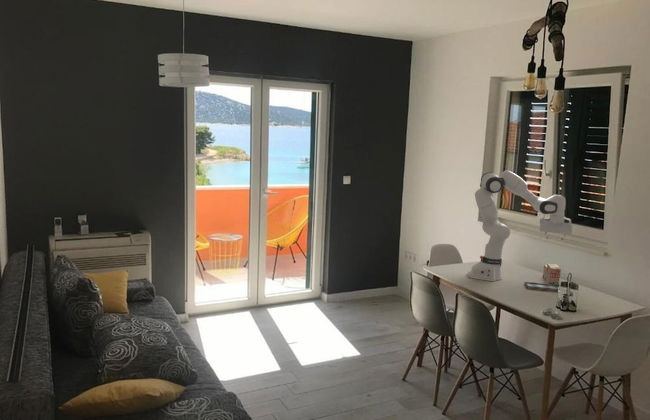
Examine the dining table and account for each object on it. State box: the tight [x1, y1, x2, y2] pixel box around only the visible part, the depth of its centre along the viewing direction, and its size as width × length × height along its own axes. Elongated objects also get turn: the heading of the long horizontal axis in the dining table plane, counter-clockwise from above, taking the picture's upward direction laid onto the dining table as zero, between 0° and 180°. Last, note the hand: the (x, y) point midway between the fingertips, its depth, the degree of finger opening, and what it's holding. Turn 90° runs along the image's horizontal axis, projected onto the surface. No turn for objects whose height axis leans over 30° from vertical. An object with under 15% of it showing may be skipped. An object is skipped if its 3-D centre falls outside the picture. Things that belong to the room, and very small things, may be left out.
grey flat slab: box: [523, 281, 560, 293], centre depth 352 cm, size 25×10×2 cm, turn 80°
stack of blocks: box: [542, 263, 562, 285], centre depth 368 cm, size 21×6×12 cm, turn 169°
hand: (554, 239), depth 363 cm, fingers open, 8 cm apart
